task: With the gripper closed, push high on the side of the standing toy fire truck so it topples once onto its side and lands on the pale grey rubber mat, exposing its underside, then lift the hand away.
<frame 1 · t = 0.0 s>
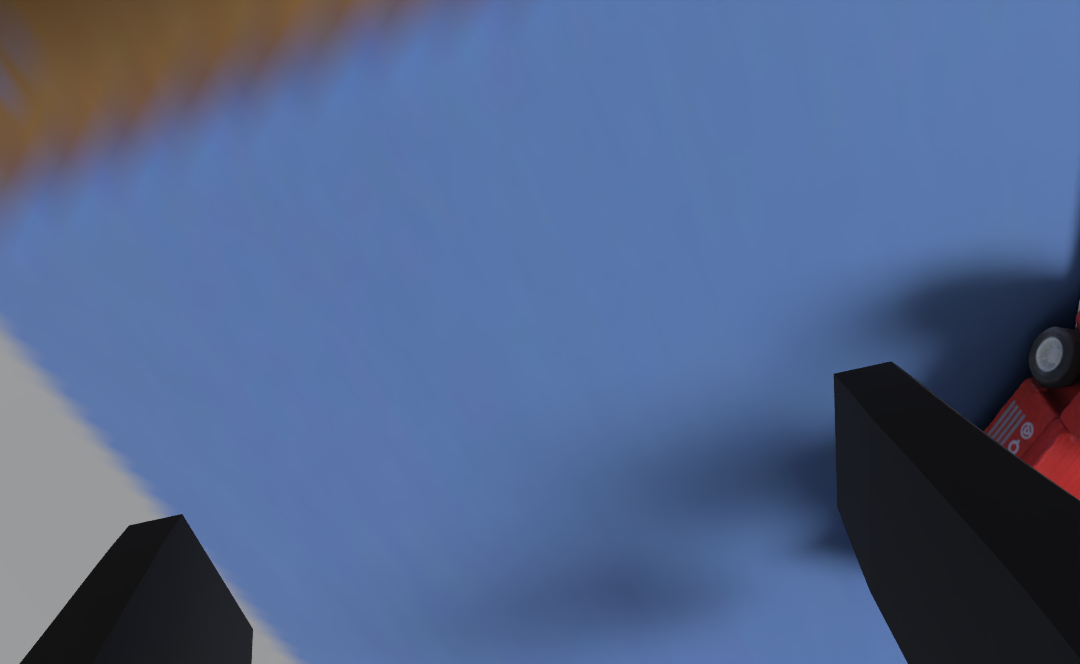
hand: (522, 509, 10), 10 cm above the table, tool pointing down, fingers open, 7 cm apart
toy fire truck: (972, 485, 26), on the table, touching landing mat
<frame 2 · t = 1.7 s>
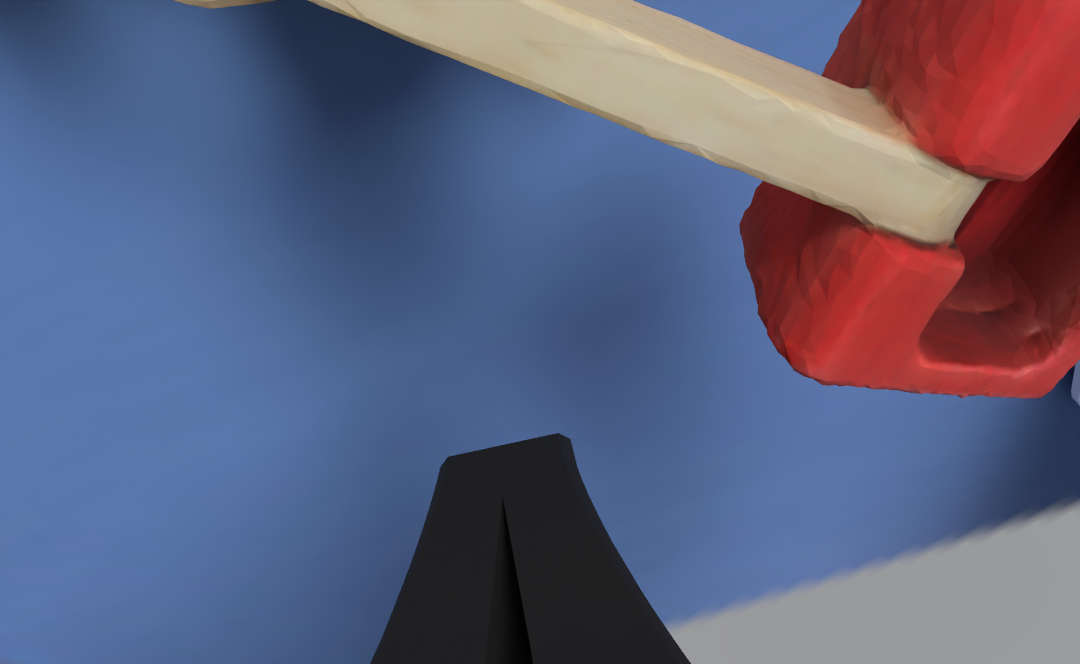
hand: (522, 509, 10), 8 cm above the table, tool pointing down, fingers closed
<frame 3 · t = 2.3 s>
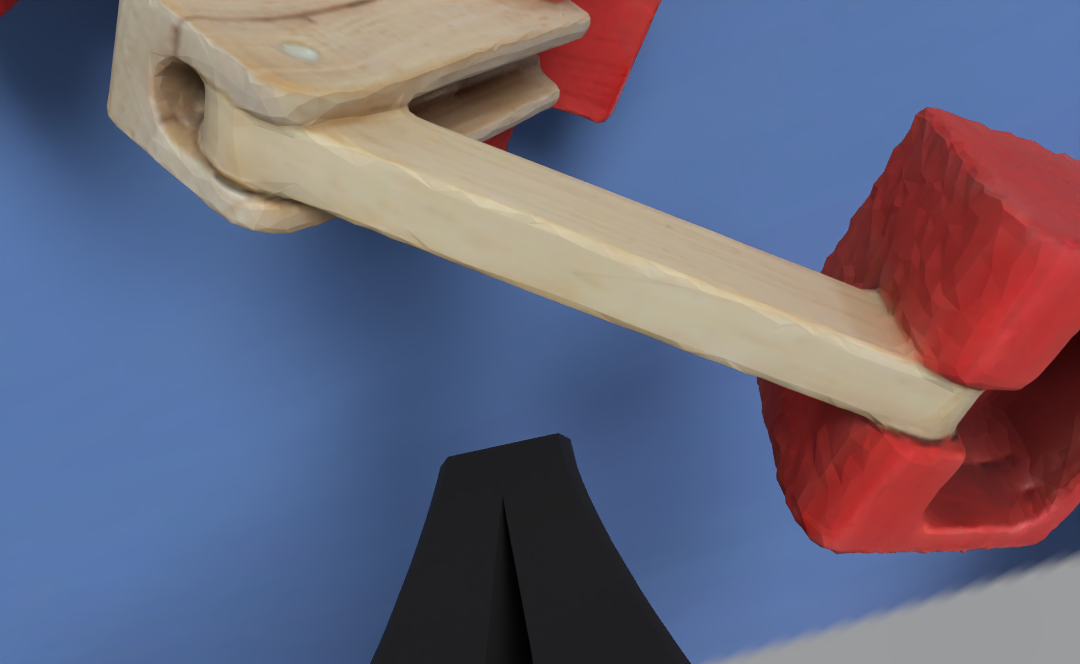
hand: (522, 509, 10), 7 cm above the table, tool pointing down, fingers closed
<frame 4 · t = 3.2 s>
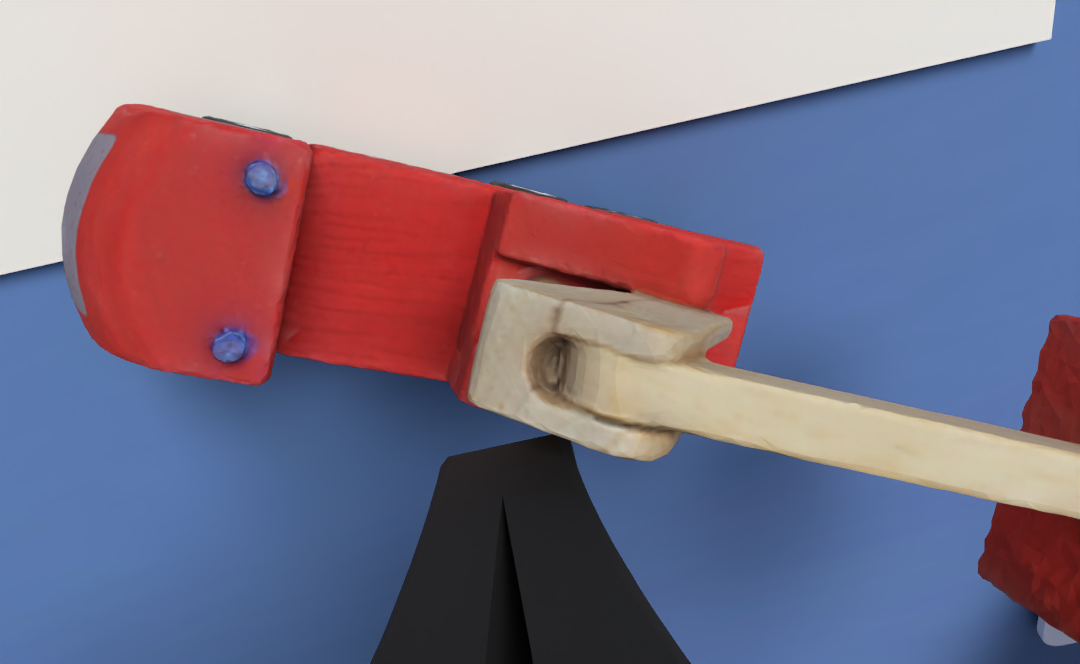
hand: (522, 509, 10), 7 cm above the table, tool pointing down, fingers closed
toy fire truck: (517, 284, 17), point 1 cm above the table, touching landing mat
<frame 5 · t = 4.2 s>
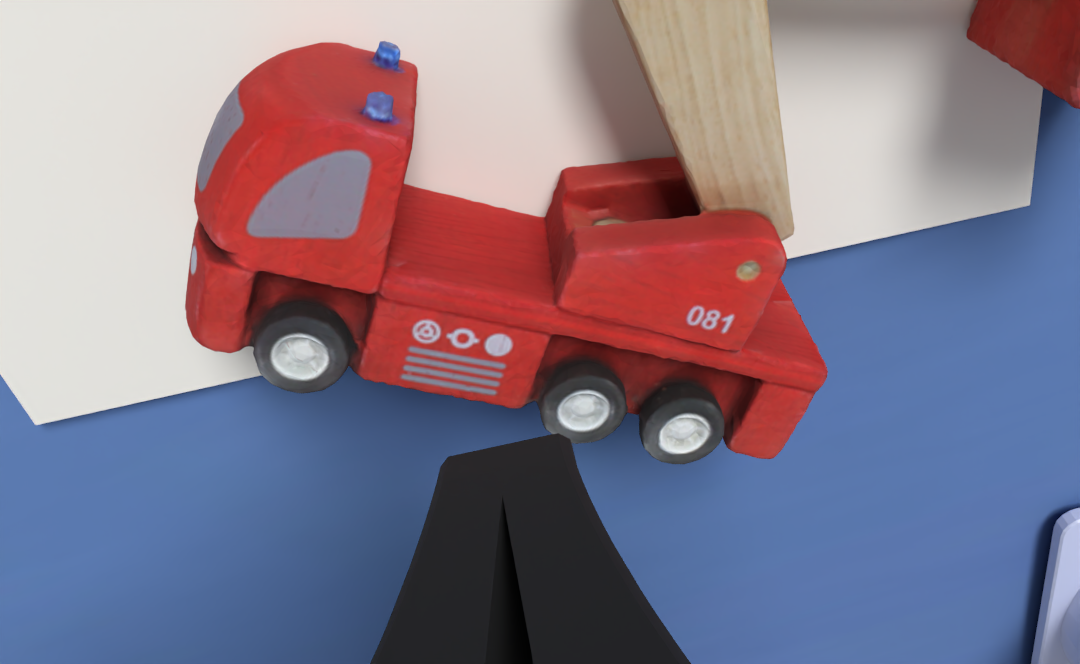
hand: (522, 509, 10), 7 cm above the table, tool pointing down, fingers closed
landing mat: (447, 36, 15), on the table
toy fire truck: (581, 400, 17), point 2 cm above the table, touching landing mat
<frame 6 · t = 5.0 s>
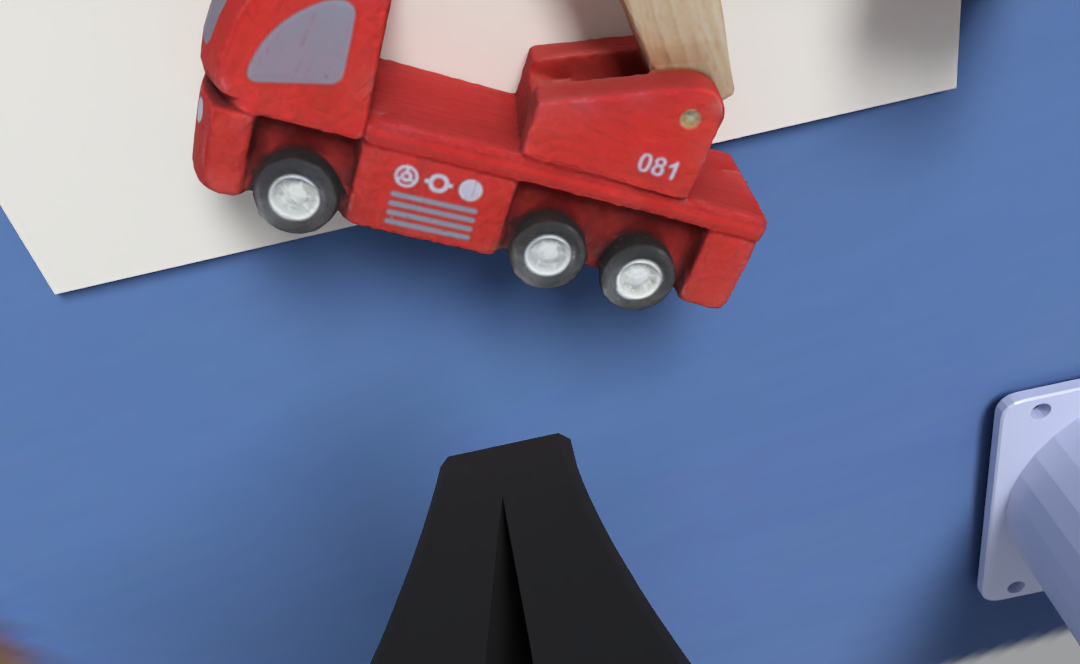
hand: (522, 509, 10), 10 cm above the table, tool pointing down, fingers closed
toy fire truck: (549, 261, 18), point 2 cm above the table, touching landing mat
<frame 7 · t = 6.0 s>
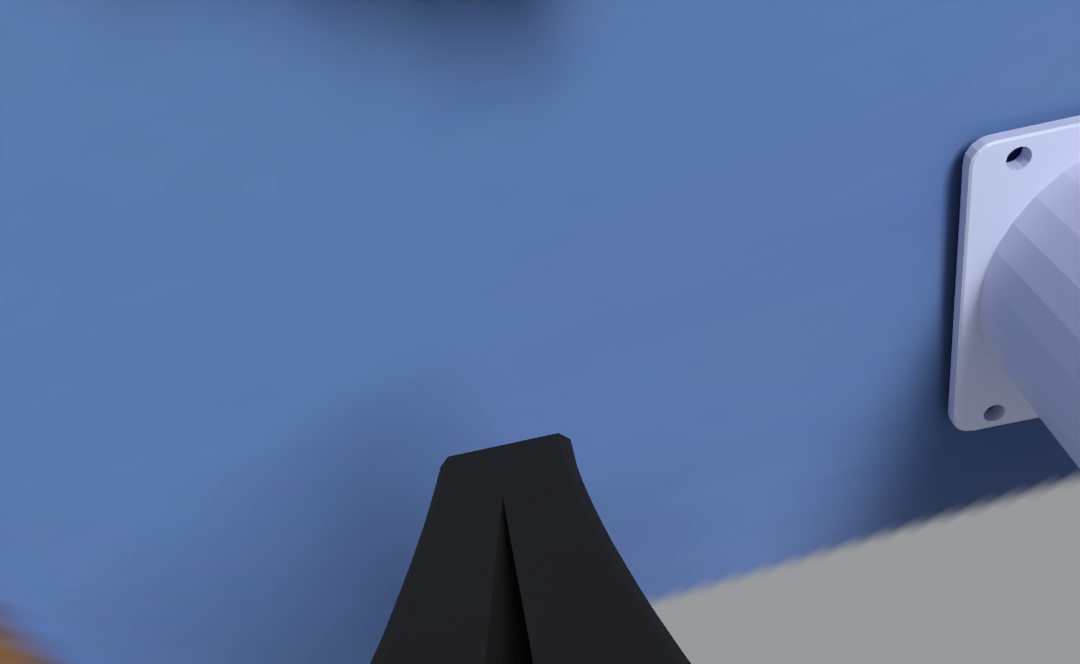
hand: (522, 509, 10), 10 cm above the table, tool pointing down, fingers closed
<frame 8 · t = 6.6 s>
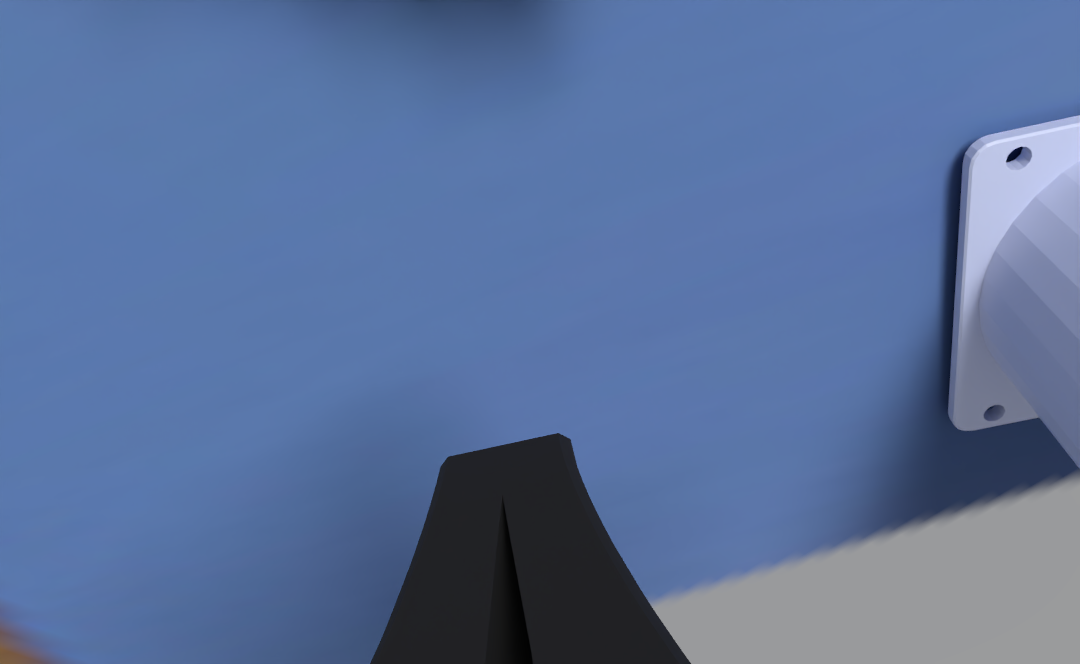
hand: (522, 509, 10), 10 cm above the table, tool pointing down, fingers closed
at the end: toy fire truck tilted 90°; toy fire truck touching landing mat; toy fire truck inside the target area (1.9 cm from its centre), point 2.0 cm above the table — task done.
